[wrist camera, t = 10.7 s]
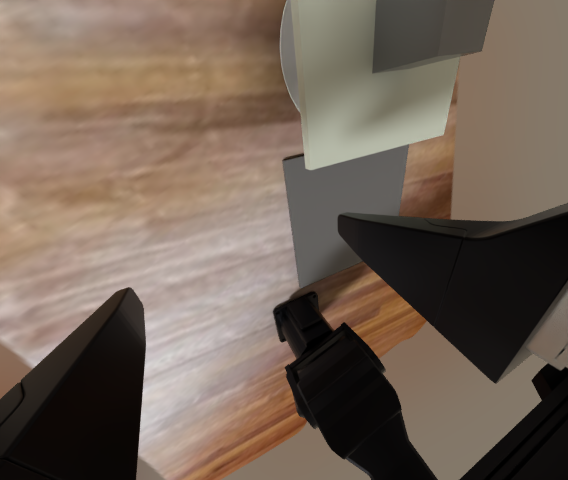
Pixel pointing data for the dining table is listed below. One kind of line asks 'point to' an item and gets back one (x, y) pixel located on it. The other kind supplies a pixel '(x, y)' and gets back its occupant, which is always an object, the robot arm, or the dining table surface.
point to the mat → (338, 206)
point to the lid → (379, 71)
